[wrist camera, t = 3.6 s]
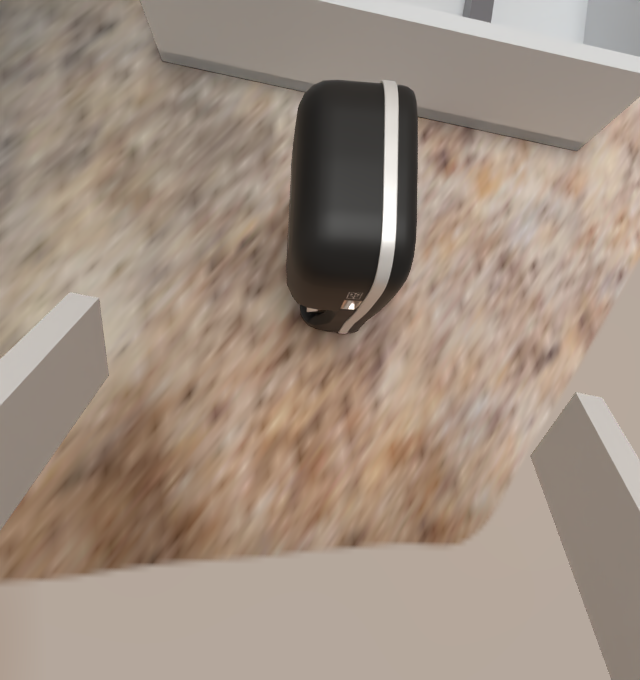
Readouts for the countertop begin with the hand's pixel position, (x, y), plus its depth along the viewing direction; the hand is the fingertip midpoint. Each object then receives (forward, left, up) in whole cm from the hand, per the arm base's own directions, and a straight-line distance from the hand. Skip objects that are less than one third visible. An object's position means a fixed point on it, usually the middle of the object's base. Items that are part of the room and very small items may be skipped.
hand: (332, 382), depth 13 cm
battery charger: (-1, +6, -11) cm, 13 cm away
